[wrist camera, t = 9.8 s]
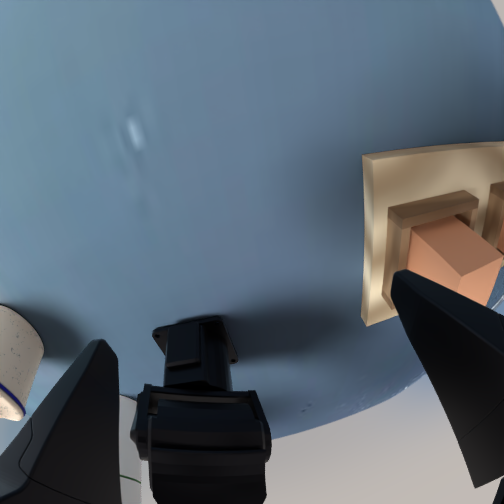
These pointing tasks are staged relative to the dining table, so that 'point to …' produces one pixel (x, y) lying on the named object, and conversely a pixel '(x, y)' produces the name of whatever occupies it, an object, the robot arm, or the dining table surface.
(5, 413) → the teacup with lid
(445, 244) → the loose block
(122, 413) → the cylindrical container
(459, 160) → the socket board
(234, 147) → the dining table surface
